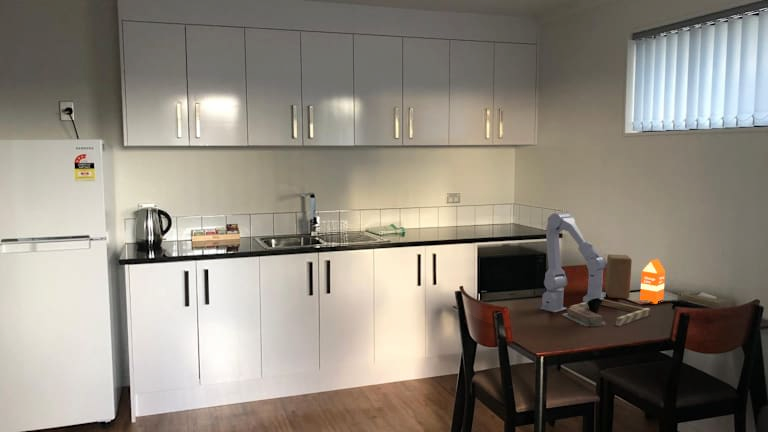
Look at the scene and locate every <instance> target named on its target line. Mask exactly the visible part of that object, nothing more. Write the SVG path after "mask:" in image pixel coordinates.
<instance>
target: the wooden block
mask: <svg viewBox="0 0 768 432" xmlns="http://www.w3.org/2000/svg"><path fill="white" fill-rule="evenodd" d="M606 259H607V260H606V274H605V275H606V277H605V291H604V292H606V295H607V297H608V298H610V299H611V298H612V299H630V297H631V296H630V293H631V277H632V276H631V275H632V262H633V261H632V258H631V257H630V256H629V255H627V254H607V258H606Z"/></svg>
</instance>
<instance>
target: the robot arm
mask: <svg viewBox="0 0 768 432" xmlns="http://www.w3.org/2000/svg"><path fill="white" fill-rule="evenodd" d="M575 220H576V219H575V218H574V217H573V215H572V214H571V213H570V212H568V211H565V212H557V213H556V212H555V213H551V214H550V215H549V216H548V217H547V225H546V228H545V236H546V237H545V238H546V248H547V250H546V251H547V263H548V269H547V271H546V272H545V275H544V280H543V285H544V287H545V288H546V291H545V292H543V294H542V301H541V302H542V303H541V307H540V310H543V311H547V312H551V313H557V312H561V311H564V310H567V309H568V307H565V306H564V292H565V287H566V286H568V279H567V276H566V272H565V270H564V269H563V268H562V261H561V260H562V258H561V247H560V246H561V244H560V234H561V232H562V231H567V233H568V234H569V235H570V236H571V237H572V239H573V241H575V242H576V244H577V245H578V247H577V248H578V251H579V253H580V254H581V255H582V257H583V259H584V260H585V261H586V263H585V264H586V267H587V269H588V271H587V272H588V281H587V282H588V283H587V294H585V296H583V297H582V302H587V304H588V306H589V309H588V310H589V311H592V312H594V313H596V314H598V312H599V311H600V310H599V309H600V306H602V305H601V303H602V302H603V300H602V299H600V298H604V299H605V298H607V297H606V295H607V294H606V292H605V291H603V282H604V281H603V280H604V279H603V278H604V269H605V268H607V260H606V258H605V257H604V256H603V255H600V254H599V253H598V252H597V250H596V249H595V247H594V244H593V243H592V242H590V241H587V240H586V239H585V238H584V236H583V233H582V232H581V231H580V229H579V228H578V225H577V224H576V221H575Z"/></svg>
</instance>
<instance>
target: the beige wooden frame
mask: <svg viewBox="0 0 768 432" xmlns="http://www.w3.org/2000/svg"><path fill="white" fill-rule="evenodd" d="M600 299H602V300H603V302H602V303H601V305H600V306H606V307H609V308H614V309H617V310H621V311H625V312H626V311H627V312H630V313H628V314H624V315H621V316H618V317H615V325H616V326H619V327H620V326H624V325H625V324H629V323H631V322H634V321H637V320H640V319H643V318H647V317H649V316H650V315H651V308H649V307H646V308H644V307H639V306H635V305H631V304H627V303H626V304H625V303H622V302H618V301H615V300H614V301H613V300H609V299H605V297H604V298H600ZM573 306H580V307H583V308H585V309H587V310H589V306H588V304H587V302H584V301H582V302H580V303H577V304H573V305H569V308H571V307H573Z"/></svg>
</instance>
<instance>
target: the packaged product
mask: <svg viewBox="0 0 768 432" xmlns="http://www.w3.org/2000/svg"><path fill="white" fill-rule="evenodd" d="M572 306H573V305H572ZM561 315H562V316H563V317H564V318H567V319H569V320H571V321H573V320H574V321H573V322H575V321H576V322H575V323H577V322H578V324H579V323H580V324H579V325H581V326H583V325H584V326H583V327H585V326H586V327H585V328H587V327H588V326H591V327H600V326H601V325H603V326H606V325H607V323H606V321H603V316H602V315H600V314H598V313H597V314H596V313H594V312H592V311H590V310H589V309H585V308H583V307H580V306H573V307H571V308H568V307H567V309H566V312H565V313H561ZM588 328H589V327H588Z"/></svg>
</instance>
